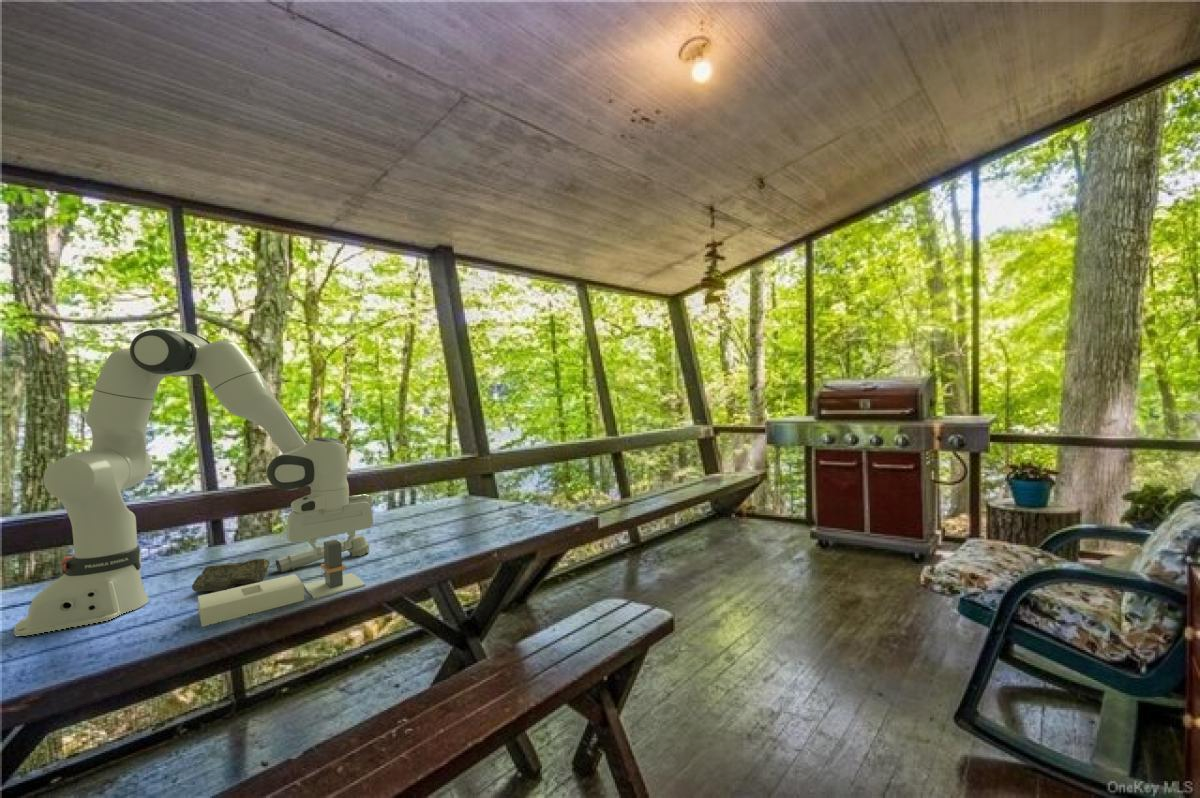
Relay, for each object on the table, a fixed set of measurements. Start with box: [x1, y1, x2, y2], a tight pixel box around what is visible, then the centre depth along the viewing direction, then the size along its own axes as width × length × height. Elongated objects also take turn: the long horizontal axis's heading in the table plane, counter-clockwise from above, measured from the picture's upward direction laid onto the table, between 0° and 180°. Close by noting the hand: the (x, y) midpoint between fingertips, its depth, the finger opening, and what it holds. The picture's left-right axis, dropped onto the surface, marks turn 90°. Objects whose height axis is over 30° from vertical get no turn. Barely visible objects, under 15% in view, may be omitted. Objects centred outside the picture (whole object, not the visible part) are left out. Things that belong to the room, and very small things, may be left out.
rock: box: [191, 558, 271, 592], centre depth 139 cm, size 17×7×10 cm
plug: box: [320, 539, 347, 588], centre depth 136 cm, size 4×6×11 cm
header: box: [197, 573, 305, 628], centre depth 124 cm, size 20×10×4 cm, turn 131°
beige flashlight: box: [275, 534, 371, 574], centre depth 157 cm, size 5×7×25 cm
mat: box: [303, 572, 367, 600], centre depth 136 cm, size 12×12×1 cm
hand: (332, 551), depth 136 cm, fingers open, 6 cm apart
